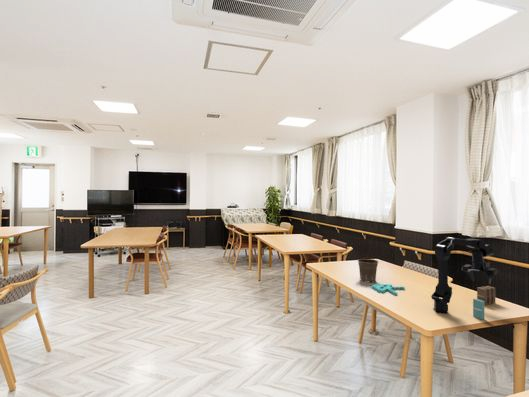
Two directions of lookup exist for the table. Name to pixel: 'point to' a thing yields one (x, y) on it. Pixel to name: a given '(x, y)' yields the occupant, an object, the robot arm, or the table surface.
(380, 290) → the alien figure
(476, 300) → the teal domino
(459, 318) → the table surface
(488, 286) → the walnut domino
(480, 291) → the walnut domino
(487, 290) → the walnut domino
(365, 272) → the plant pot
